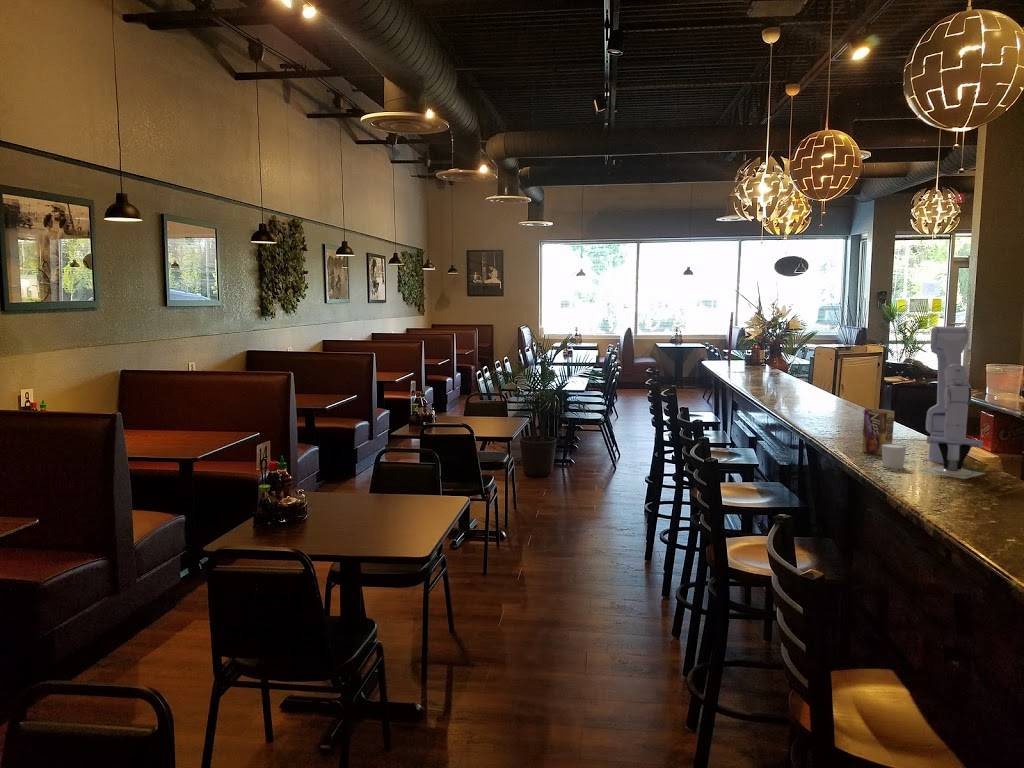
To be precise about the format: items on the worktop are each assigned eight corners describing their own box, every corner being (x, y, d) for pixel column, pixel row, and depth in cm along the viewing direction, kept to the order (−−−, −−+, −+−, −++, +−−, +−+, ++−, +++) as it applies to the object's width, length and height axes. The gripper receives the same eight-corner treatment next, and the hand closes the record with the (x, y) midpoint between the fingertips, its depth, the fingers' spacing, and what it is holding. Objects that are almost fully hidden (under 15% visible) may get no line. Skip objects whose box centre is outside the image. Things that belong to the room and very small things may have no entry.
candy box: (892, 455, 251) (895, 410, 249) (883, 456, 249) (886, 411, 247) (869, 450, 259) (872, 407, 257) (861, 451, 257) (863, 408, 255)
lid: (943, 466, 232) (943, 455, 231) (977, 472, 224) (978, 461, 223) (926, 470, 226) (927, 459, 226) (961, 477, 218) (962, 465, 218)
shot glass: (907, 470, 228) (909, 448, 227) (883, 469, 229) (885, 447, 229) (900, 465, 235) (902, 444, 234) (877, 464, 236) (879, 443, 235)
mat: (940, 466, 234) (940, 465, 234) (985, 474, 223) (985, 473, 223) (919, 471, 227) (919, 470, 227) (964, 480, 216) (964, 478, 216)
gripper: (929, 424, 223) (925, 468, 224) (985, 428, 216) (981, 473, 218) (927, 421, 229) (924, 464, 231) (982, 424, 223) (978, 469, 224)
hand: (952, 468), depth 225 cm, fingers closed on lid, 3 cm apart
